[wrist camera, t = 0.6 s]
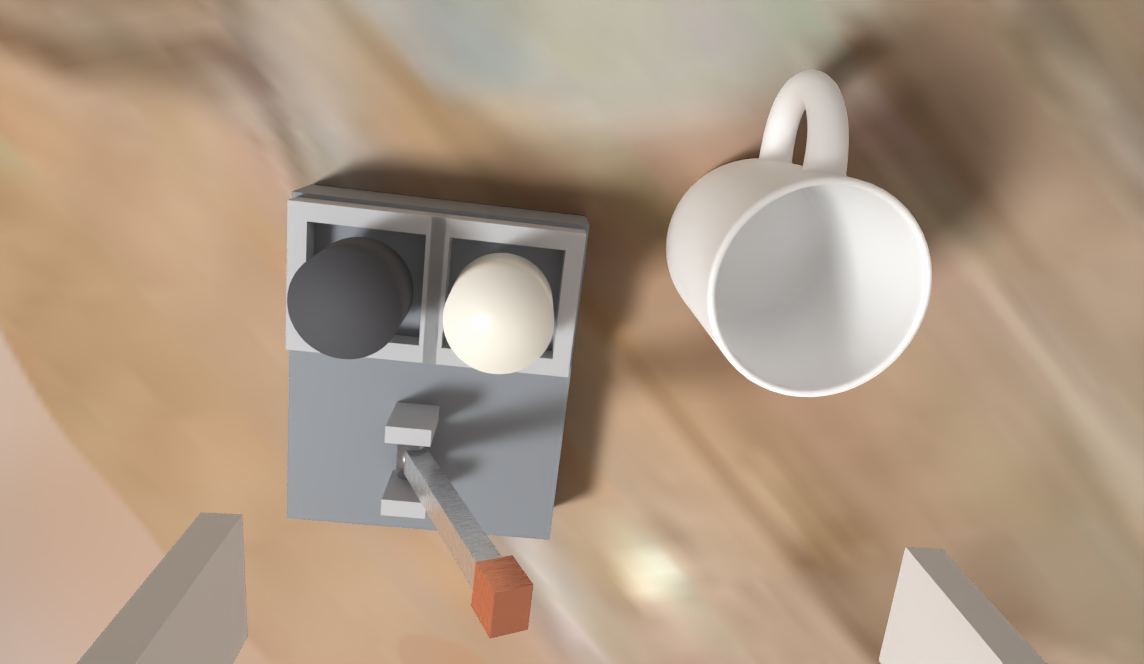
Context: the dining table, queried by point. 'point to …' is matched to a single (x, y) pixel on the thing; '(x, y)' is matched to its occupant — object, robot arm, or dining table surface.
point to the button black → (350, 298)
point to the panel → (430, 371)
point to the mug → (801, 255)
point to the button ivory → (499, 314)
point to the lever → (469, 546)
